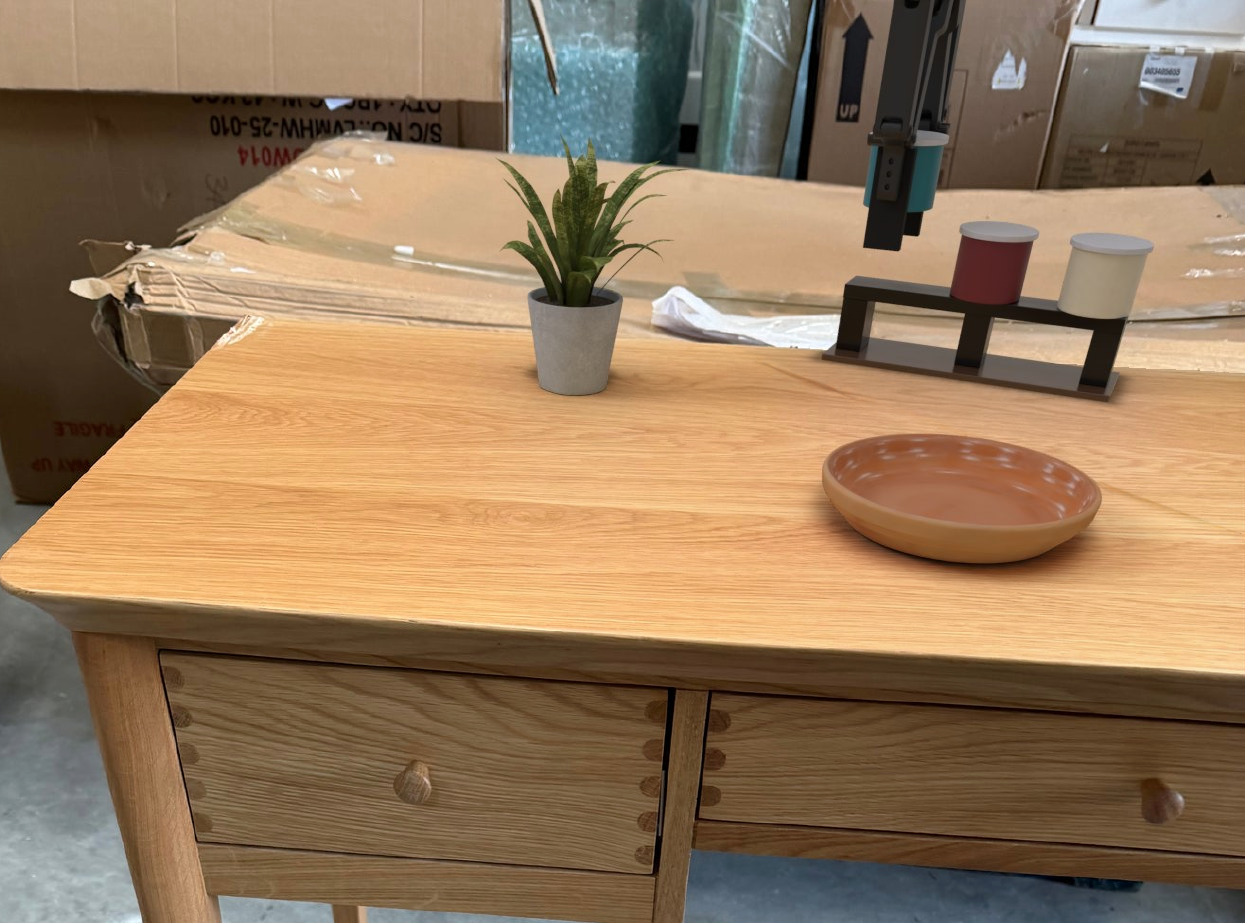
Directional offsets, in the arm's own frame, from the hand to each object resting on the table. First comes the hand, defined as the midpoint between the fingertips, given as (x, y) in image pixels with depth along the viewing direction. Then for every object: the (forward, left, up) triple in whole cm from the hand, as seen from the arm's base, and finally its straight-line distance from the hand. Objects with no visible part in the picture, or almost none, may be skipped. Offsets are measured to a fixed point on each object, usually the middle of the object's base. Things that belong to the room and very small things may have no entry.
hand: (891, 240), depth 93 cm
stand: (-7, -4, -9) cm, 12 cm away
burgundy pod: (-7, -4, -3) cm, 8 cm away
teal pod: (0, 0, +2) cm, 2 cm away
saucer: (-27, +21, -9) cm, 35 cm away
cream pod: (-14, -8, -3) cm, 16 cm away
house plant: (+6, +24, -9) cm, 27 cm away
